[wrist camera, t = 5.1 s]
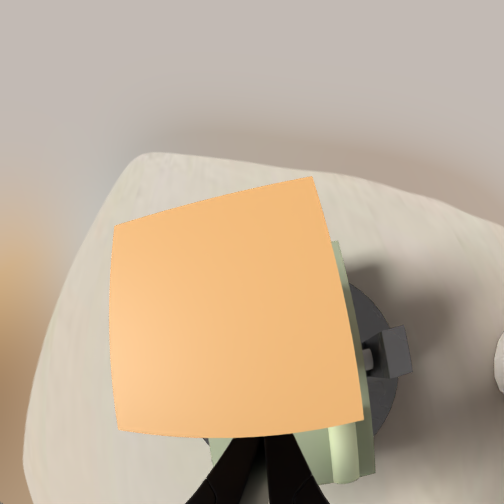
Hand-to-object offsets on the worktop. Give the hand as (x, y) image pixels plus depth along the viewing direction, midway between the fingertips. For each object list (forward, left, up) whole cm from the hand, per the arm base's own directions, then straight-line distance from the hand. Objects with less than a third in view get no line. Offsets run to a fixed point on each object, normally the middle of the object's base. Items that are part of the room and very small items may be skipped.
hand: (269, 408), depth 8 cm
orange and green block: (+1, 0, -6) cm, 6 cm away
